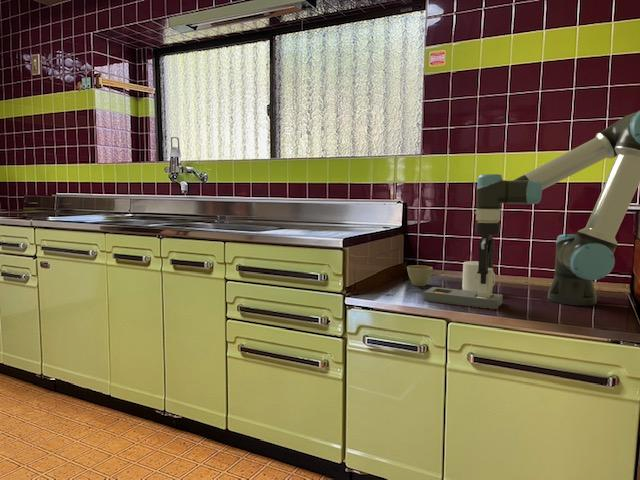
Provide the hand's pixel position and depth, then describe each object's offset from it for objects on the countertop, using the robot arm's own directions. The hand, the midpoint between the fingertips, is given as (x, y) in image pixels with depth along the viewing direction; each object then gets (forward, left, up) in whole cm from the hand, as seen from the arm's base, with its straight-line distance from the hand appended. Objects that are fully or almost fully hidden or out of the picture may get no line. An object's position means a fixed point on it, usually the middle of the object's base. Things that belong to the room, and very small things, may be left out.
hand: (484, 291), depth 162 cm
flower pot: (+29, -20, -5) cm, 36 cm away
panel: (+7, 0, -4) cm, 8 cm away
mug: (+6, -20, -5) cm, 21 cm away
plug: (0, 0, -4) cm, 4 cm away
